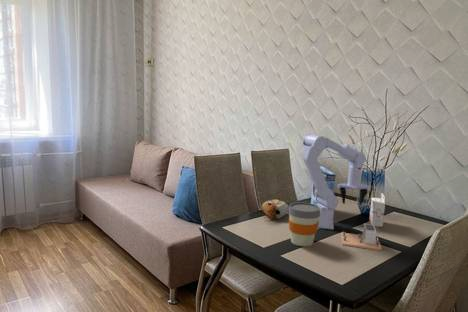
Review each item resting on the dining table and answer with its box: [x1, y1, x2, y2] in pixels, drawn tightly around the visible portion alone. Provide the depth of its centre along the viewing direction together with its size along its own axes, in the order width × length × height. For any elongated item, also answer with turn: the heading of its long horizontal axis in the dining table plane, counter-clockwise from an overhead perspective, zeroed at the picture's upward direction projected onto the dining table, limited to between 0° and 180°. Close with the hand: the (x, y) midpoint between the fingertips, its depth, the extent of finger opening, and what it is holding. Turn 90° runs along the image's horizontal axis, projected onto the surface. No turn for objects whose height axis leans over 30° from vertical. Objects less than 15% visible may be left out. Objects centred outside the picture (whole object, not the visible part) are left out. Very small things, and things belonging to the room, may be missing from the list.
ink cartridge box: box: [368, 192, 386, 227], centre depth 164 cm, size 9×5×15 cm, turn 168°
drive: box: [361, 223, 377, 246], centre depth 142 cm, size 4×8×6 cm, turn 166°
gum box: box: [310, 165, 337, 206], centre depth 177 cm, size 20×5×23 cm, turn 4°
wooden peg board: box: [340, 231, 383, 251], centre depth 143 cm, size 15×12×2 cm
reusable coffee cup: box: [288, 201, 320, 247], centre depth 140 cm, size 13×12×15 cm
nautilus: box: [261, 199, 290, 222], centre depth 169 cm, size 8×22×15 cm
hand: (351, 203), depth 164 cm, fingers open, 7 cm apart
